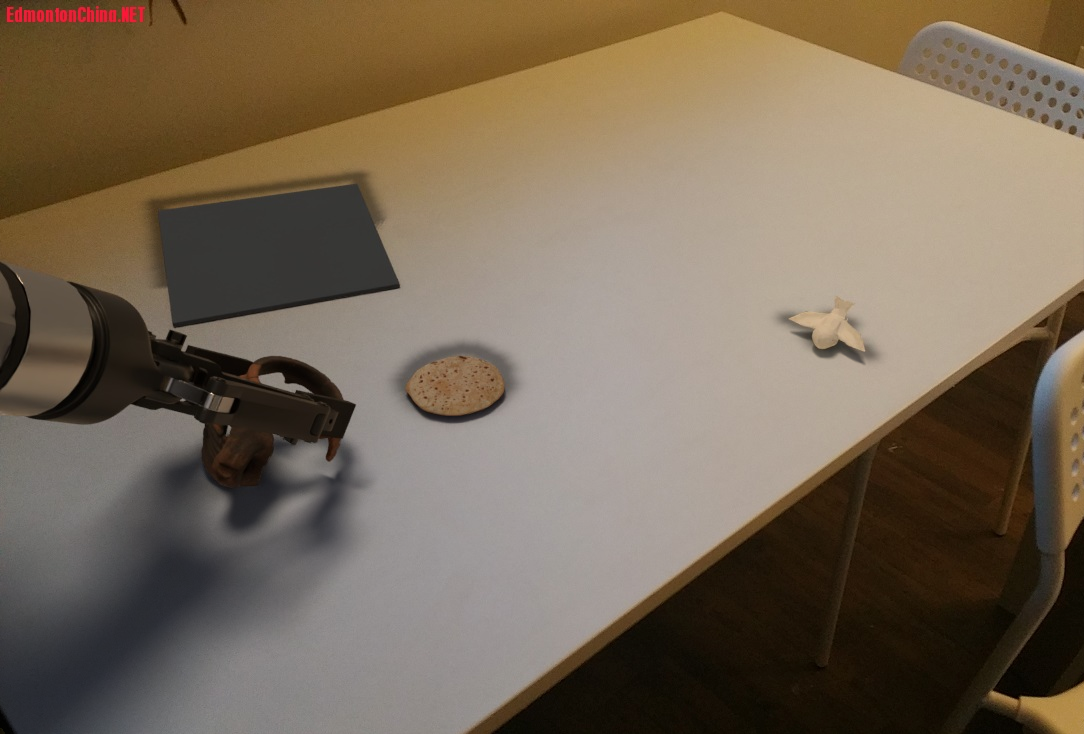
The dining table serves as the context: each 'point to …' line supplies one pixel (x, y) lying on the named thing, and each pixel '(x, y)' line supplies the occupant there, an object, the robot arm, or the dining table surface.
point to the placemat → (271, 253)
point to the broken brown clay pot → (251, 450)
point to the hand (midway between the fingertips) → (293, 398)
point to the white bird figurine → (831, 326)
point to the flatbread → (456, 386)
